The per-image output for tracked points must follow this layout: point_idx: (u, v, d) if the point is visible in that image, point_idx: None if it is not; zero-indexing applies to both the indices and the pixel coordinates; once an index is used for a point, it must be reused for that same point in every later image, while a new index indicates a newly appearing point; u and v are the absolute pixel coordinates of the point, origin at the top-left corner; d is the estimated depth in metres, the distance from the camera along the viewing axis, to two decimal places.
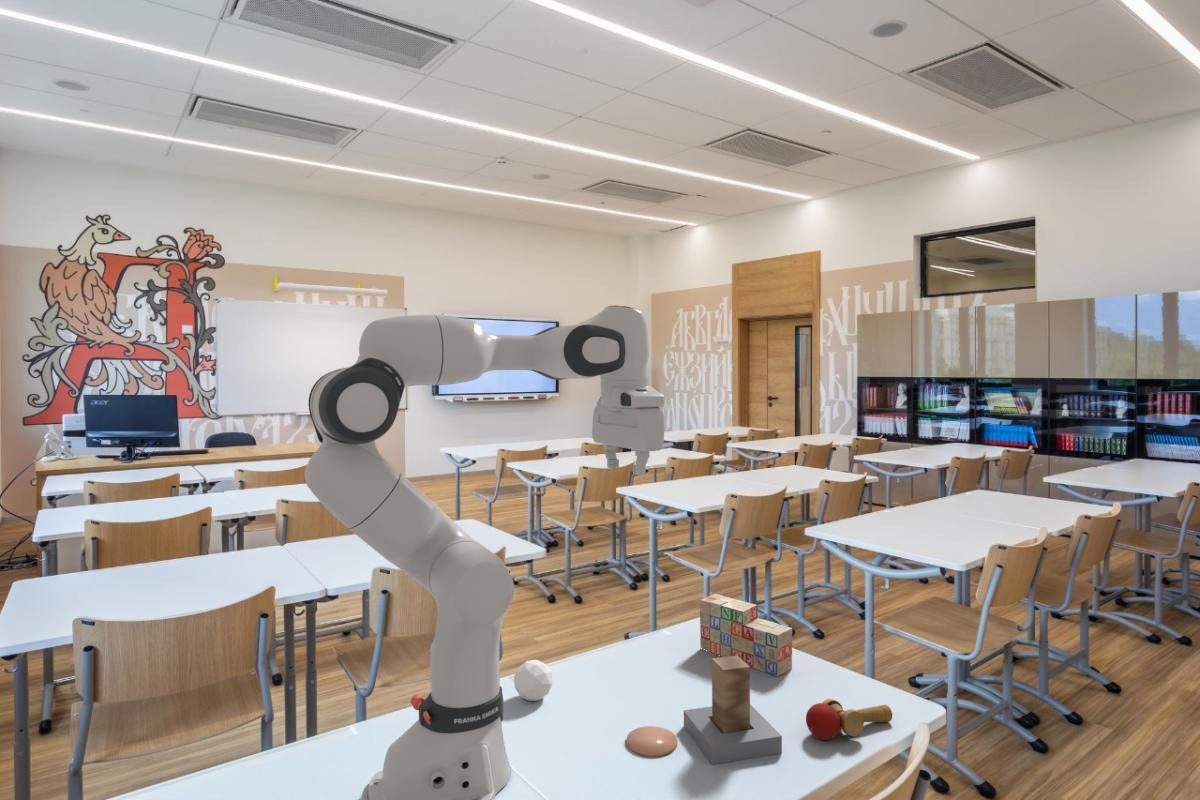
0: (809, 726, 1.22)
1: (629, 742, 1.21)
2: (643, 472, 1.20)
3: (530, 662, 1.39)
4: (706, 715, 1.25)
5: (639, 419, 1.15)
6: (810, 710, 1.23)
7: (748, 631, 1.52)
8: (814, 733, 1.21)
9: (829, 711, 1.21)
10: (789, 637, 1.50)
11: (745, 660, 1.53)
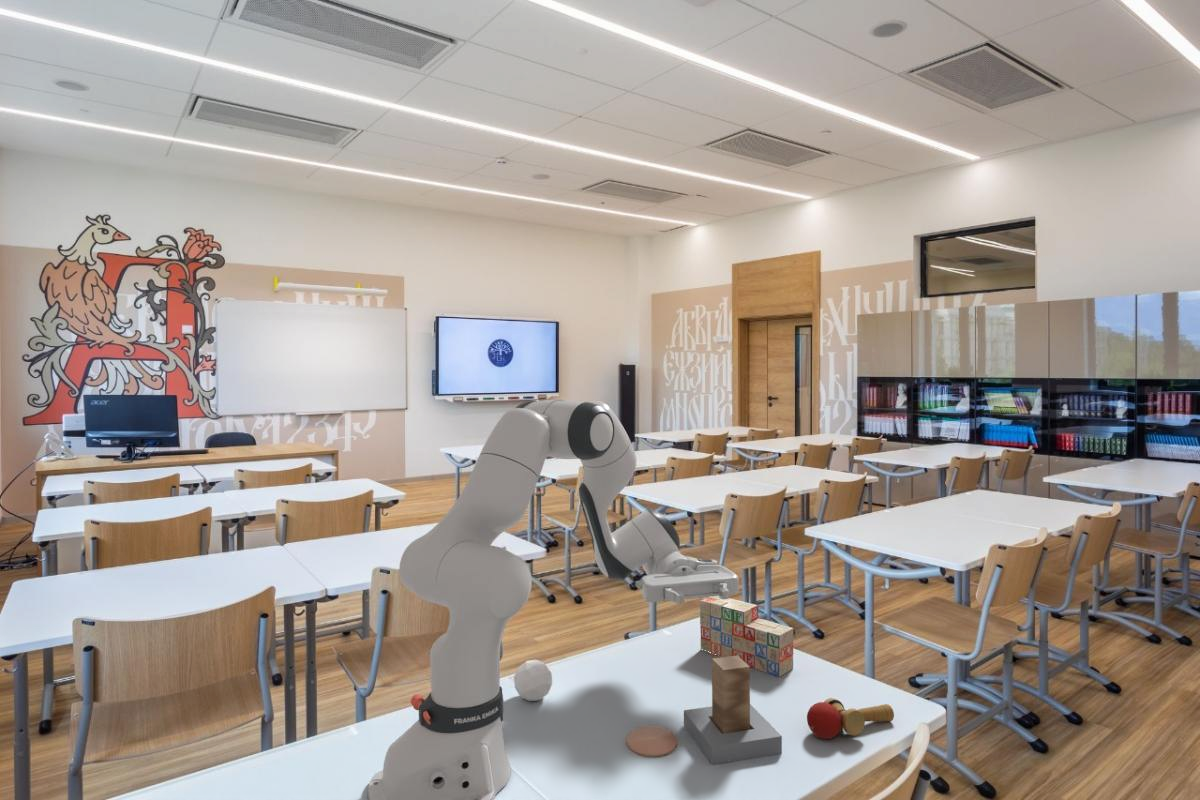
0: (810, 725, 1.22)
1: (629, 742, 1.21)
2: None
3: (530, 662, 1.39)
4: (706, 715, 1.25)
5: (723, 567, 1.45)
6: (811, 709, 1.23)
7: (749, 631, 1.52)
8: (815, 732, 1.22)
9: (830, 710, 1.22)
10: (790, 637, 1.50)
11: (746, 660, 1.53)
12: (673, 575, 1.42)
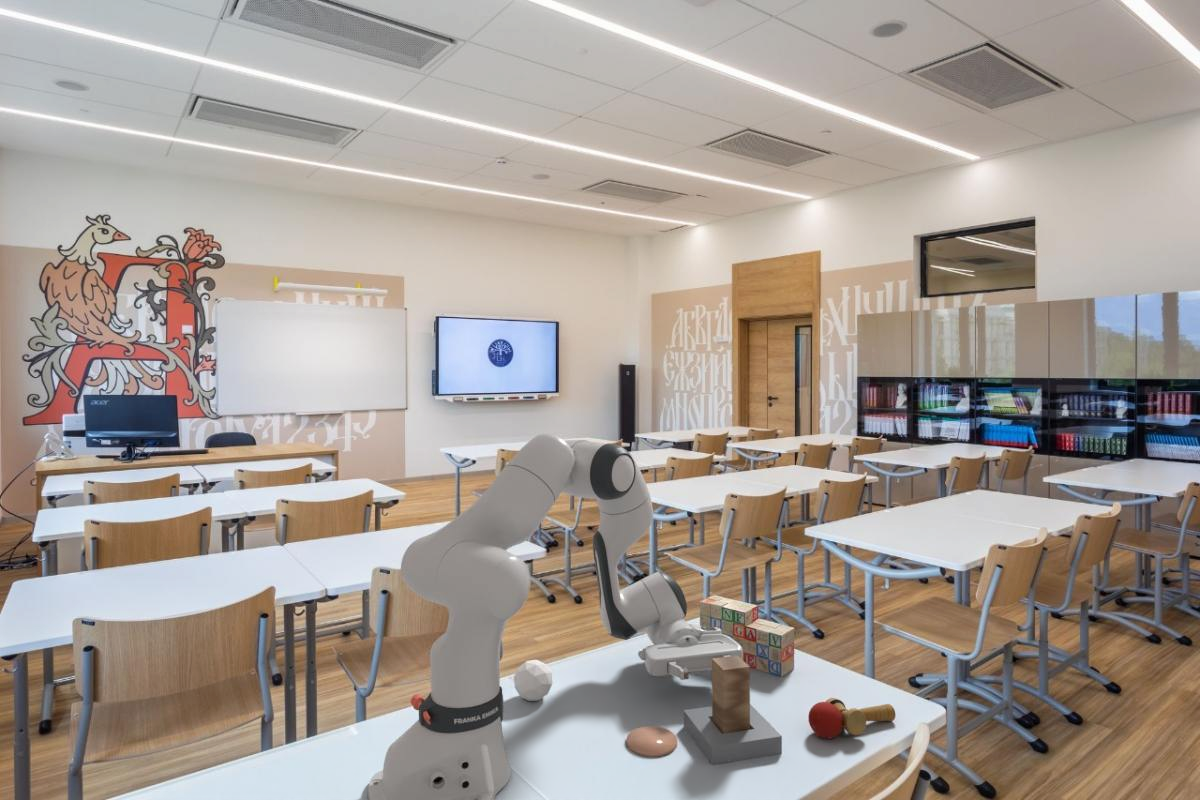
0: (811, 725, 1.22)
1: (629, 742, 1.21)
2: None
3: (530, 662, 1.39)
4: (706, 715, 1.25)
5: (728, 636, 1.43)
6: (812, 709, 1.23)
7: (750, 632, 1.52)
8: (816, 732, 1.22)
9: (832, 710, 1.22)
10: (792, 637, 1.50)
11: (747, 661, 1.53)
12: (677, 646, 1.41)
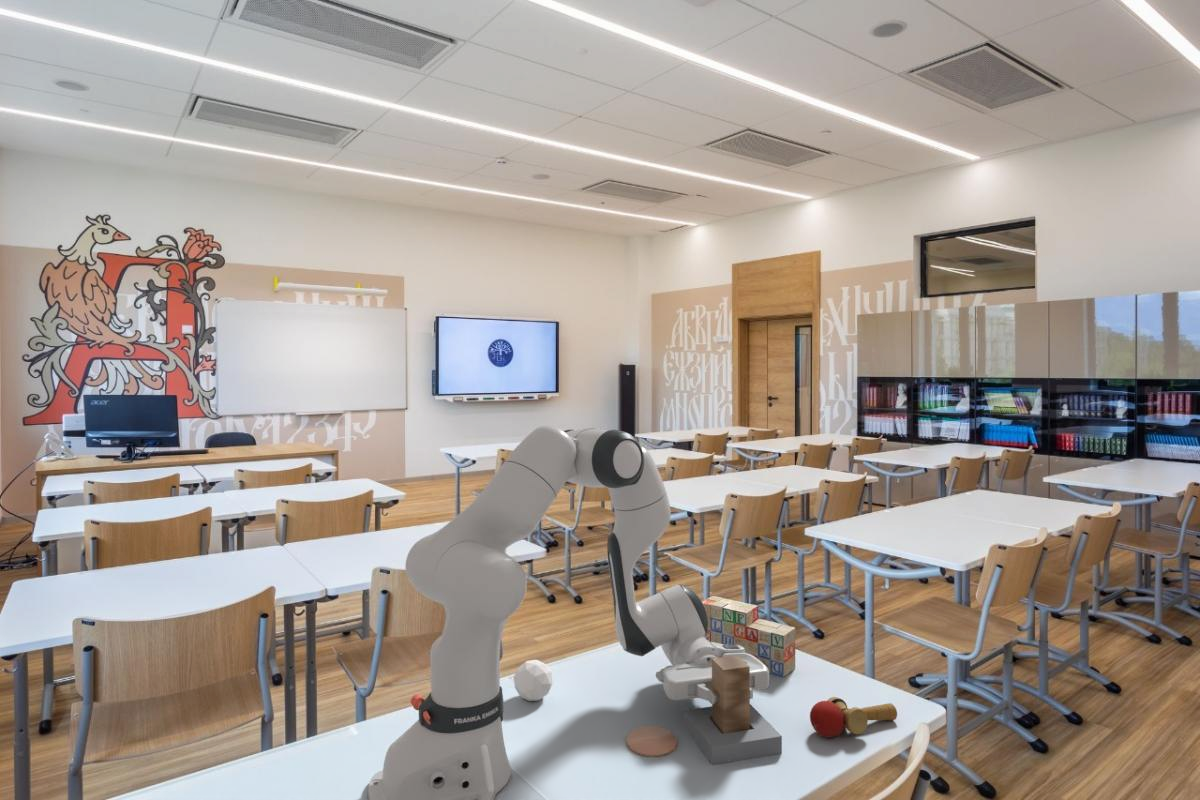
0: (813, 723, 1.23)
1: (629, 742, 1.21)
2: None
3: (530, 662, 1.39)
4: (706, 715, 1.25)
5: (752, 656, 1.33)
6: (814, 707, 1.24)
7: (752, 632, 1.52)
8: (818, 730, 1.22)
9: (833, 708, 1.22)
10: (793, 637, 1.50)
11: None
12: (697, 666, 1.30)
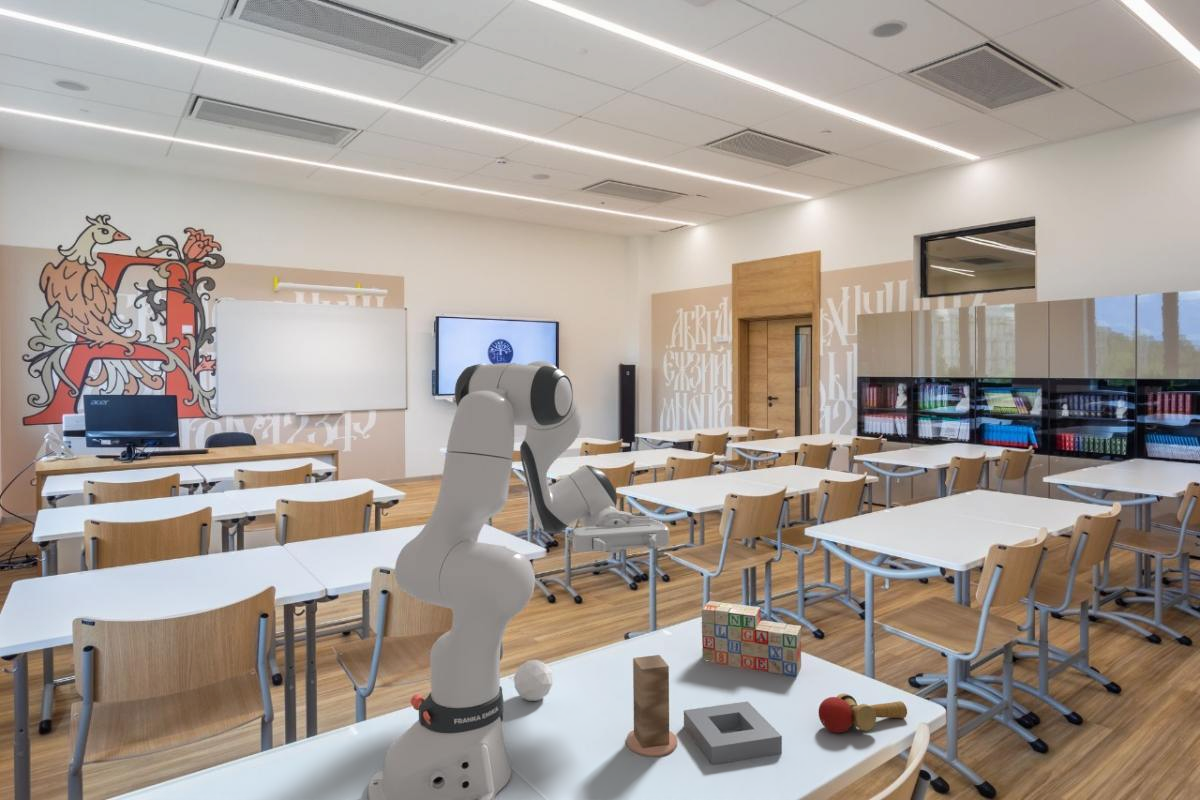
0: (821, 719, 1.24)
1: (629, 742, 1.21)
2: None
3: (530, 662, 1.39)
4: (706, 715, 1.25)
5: (656, 520, 1.46)
6: (822, 703, 1.25)
7: (761, 635, 1.50)
8: (826, 726, 1.24)
9: (841, 705, 1.23)
10: (800, 635, 1.51)
11: (758, 665, 1.51)
12: (605, 527, 1.43)
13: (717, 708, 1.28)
